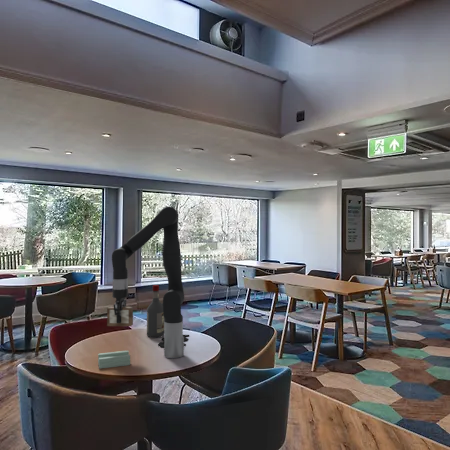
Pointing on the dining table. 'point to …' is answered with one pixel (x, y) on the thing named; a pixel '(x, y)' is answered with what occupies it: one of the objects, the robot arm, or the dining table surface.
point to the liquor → (155, 316)
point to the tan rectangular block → (125, 317)
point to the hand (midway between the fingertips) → (120, 321)
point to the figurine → (163, 340)
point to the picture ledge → (113, 359)
